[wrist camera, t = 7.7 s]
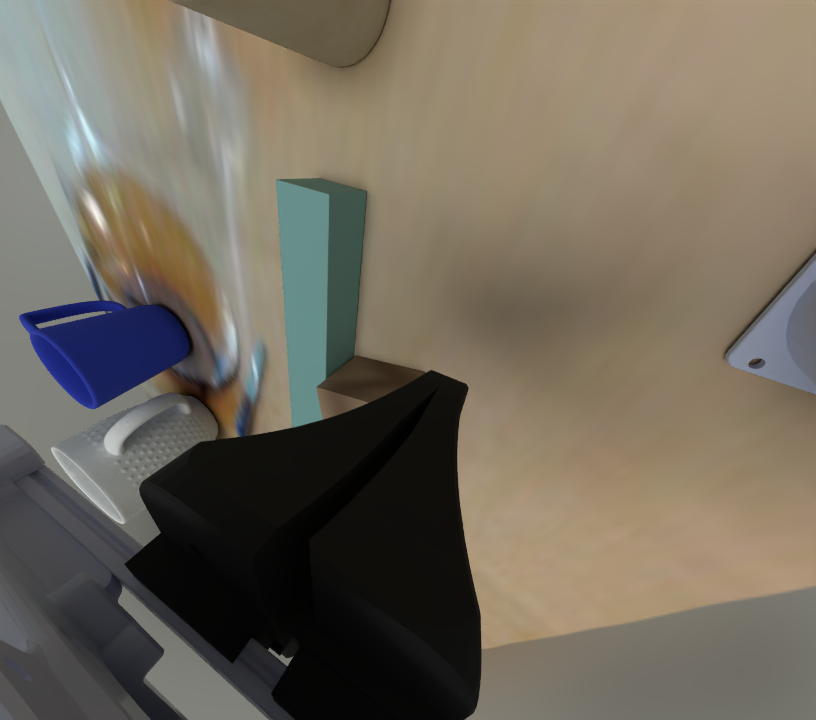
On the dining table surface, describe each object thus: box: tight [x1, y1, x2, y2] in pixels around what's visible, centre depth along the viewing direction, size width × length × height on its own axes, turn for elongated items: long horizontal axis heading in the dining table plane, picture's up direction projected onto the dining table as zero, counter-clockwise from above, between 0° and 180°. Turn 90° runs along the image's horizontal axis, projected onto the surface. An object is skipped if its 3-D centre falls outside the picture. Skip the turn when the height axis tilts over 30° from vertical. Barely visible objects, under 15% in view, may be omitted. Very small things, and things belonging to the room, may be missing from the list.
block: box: [316, 356, 425, 419], centre depth 25 cm, size 6×9×5 cm, turn 1°
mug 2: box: [51, 393, 218, 524], centre depth 38 cm, size 15×11×13 cm
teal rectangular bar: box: [276, 178, 367, 428], centre depth 24 cm, size 4×22×4 cm, turn 169°
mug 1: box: [19, 301, 189, 409], centre depth 33 cm, size 8×12×10 cm
